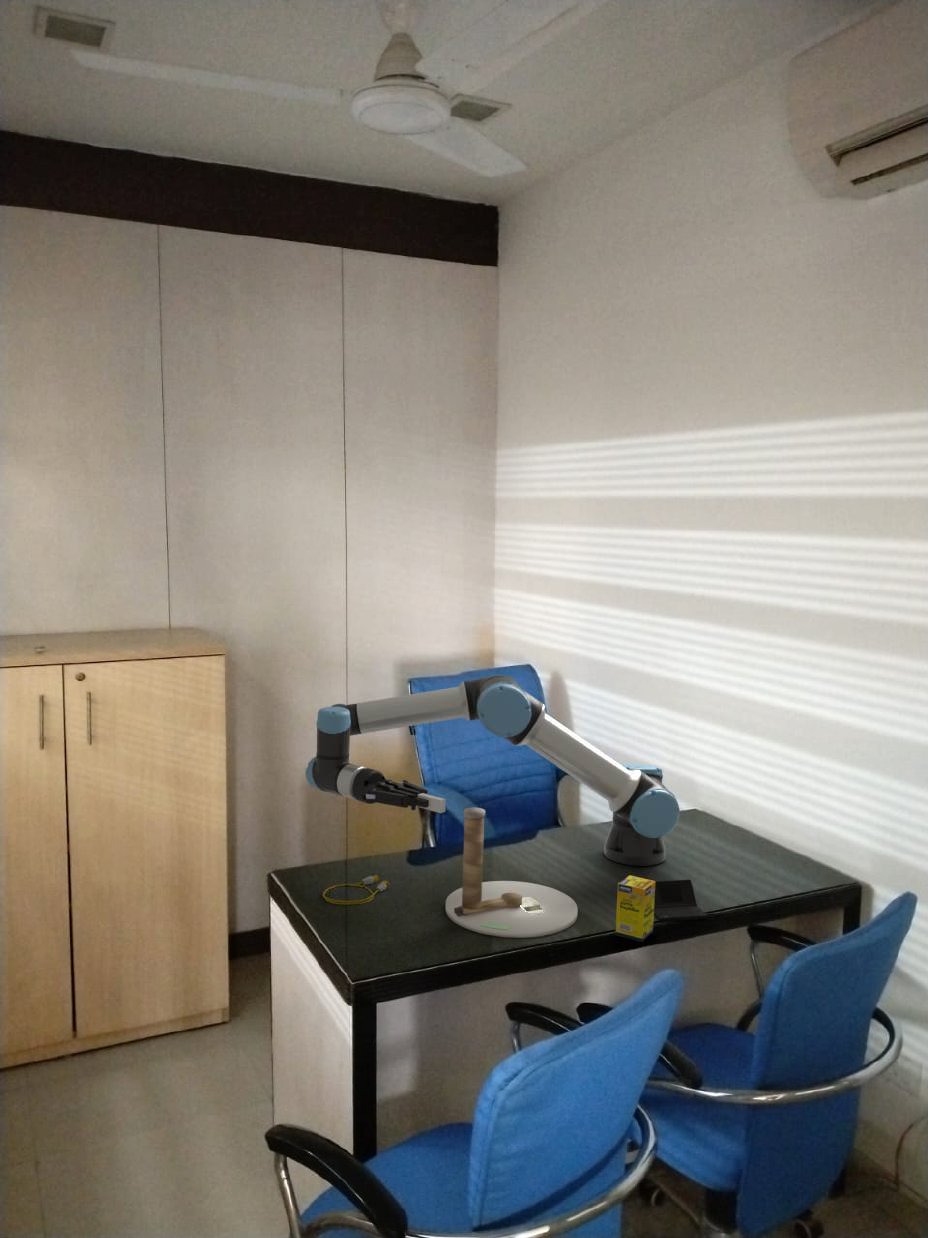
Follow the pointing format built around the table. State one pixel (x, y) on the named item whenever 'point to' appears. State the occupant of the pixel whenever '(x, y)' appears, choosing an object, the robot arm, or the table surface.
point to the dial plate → (516, 911)
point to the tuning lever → (477, 868)
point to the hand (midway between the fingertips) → (443, 806)
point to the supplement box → (635, 908)
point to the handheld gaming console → (676, 901)
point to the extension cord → (366, 881)
